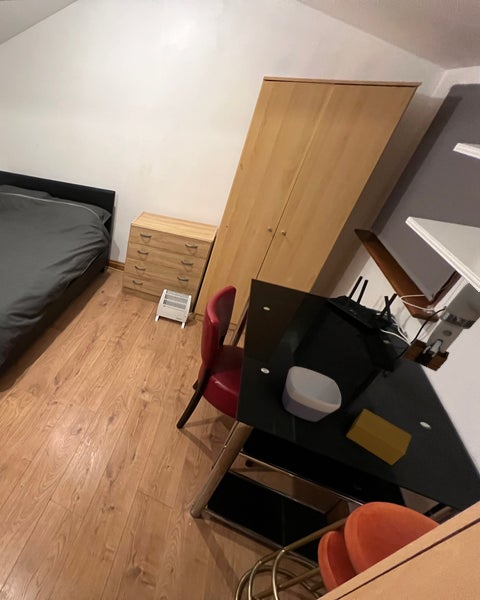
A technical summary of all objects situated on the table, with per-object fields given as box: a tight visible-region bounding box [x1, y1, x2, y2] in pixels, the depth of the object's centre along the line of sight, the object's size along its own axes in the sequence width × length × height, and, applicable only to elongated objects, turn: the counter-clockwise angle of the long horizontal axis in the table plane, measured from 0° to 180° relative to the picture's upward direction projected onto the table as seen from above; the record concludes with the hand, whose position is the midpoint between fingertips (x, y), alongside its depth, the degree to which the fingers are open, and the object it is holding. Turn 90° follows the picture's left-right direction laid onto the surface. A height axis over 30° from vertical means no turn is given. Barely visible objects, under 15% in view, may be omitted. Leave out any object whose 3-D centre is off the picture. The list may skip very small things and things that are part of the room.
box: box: [345, 407, 413, 466], centre depth 100 cm, size 12×10×6 cm
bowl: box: [281, 365, 342, 423], centre depth 108 cm, size 15×15×11 cm
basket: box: [402, 338, 450, 372], centre depth 113 cm, size 9×7×6 cm
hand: (422, 358), depth 114 cm, fingers closed on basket, 6 cm apart
